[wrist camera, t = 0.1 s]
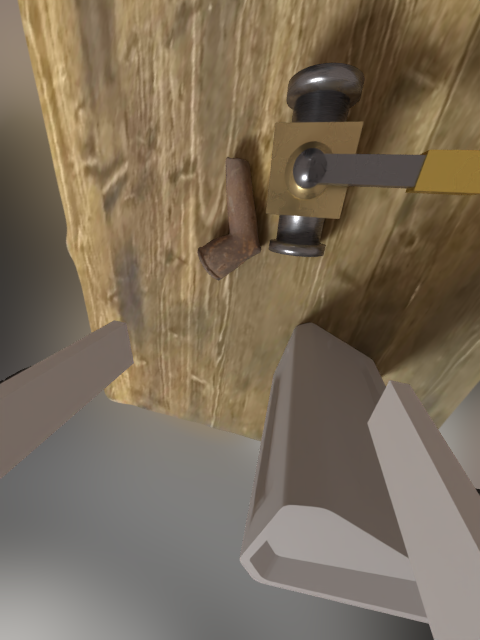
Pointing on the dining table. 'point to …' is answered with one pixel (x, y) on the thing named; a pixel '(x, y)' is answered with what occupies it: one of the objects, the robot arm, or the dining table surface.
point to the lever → (393, 171)
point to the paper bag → (326, 485)
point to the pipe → (234, 224)
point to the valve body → (312, 132)
